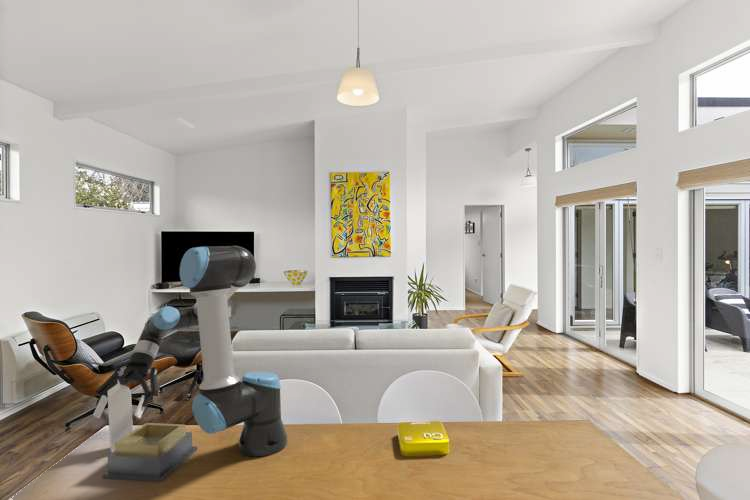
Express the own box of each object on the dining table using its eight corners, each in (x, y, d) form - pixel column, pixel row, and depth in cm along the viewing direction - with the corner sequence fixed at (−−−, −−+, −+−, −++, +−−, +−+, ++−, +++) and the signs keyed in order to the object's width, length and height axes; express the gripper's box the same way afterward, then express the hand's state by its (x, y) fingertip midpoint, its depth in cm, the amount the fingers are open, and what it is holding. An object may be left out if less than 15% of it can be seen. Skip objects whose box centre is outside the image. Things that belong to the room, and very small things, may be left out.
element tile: (441, 433, 144) (441, 419, 144) (451, 455, 129) (450, 440, 129) (397, 434, 143) (397, 420, 143) (401, 457, 128) (401, 442, 128)
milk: (112, 455, 133) (108, 386, 132) (110, 448, 138) (106, 381, 137) (134, 449, 137) (130, 381, 136) (131, 442, 142) (128, 376, 141)
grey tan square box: (197, 449, 136) (196, 421, 135) (160, 482, 118) (159, 449, 118) (145, 446, 138) (144, 419, 138) (102, 478, 121) (101, 446, 120)
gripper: (181, 361, 152) (159, 421, 138) (114, 361, 154) (85, 421, 139) (173, 350, 147) (149, 412, 132) (103, 351, 148) (72, 411, 134)
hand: (116, 416), depth 136 cm, fingers open, 13 cm apart
